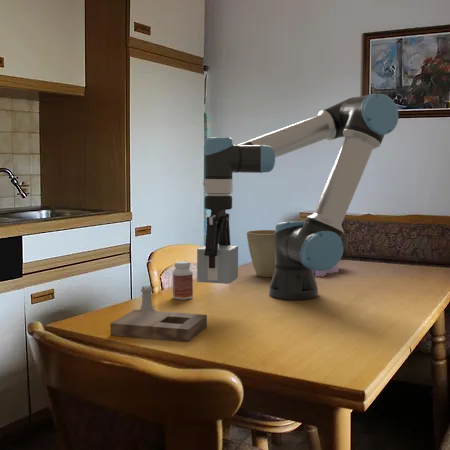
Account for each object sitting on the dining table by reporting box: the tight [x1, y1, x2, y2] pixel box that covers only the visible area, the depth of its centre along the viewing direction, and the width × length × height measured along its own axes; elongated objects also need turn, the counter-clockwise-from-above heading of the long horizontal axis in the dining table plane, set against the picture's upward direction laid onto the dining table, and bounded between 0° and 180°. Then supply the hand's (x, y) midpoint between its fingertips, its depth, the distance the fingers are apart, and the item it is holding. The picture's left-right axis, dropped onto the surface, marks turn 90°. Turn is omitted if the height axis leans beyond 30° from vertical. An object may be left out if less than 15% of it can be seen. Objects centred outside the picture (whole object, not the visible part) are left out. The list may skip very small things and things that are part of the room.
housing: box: [196, 244, 239, 285], centre depth 171 cm, size 9×9×9 cm
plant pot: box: [246, 229, 275, 278], centre depth 227 cm, size 15×15×16 cm
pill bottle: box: [172, 260, 194, 301], centre depth 191 cm, size 6×6×11 cm
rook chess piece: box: [138, 285, 156, 311], centre depth 169 cm, size 4×4×8 cm
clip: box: [313, 261, 340, 277], centre depth 234 cm, size 20×12×7 cm, turn 154°
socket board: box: [109, 309, 208, 343], centre depth 155 cm, size 20×14×3 cm
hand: (218, 276), depth 171 cm, fingers closed on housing, 9 cm apart
